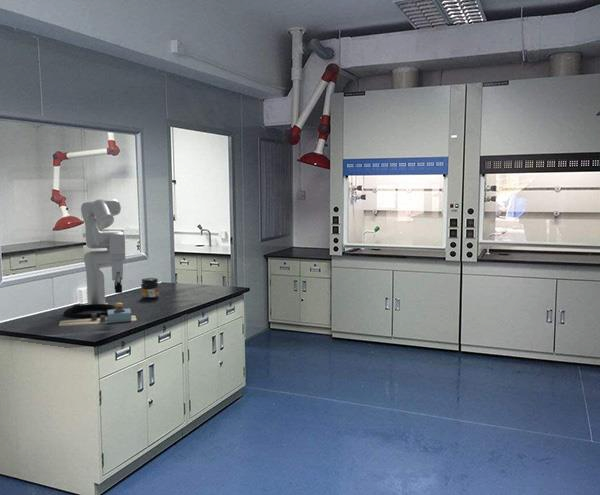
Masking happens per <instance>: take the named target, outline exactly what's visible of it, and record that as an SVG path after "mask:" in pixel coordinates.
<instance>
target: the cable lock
mask: <svg viewBox="0 0 600 495" xmlns="http://www.w3.org/2000/svg"><path fill="white" fill-rule="evenodd" d="M114 309H115V305H113V304H112V305H111V304H109V303H108V304H88V305H85V304H73V306H71V307H69V308H67V309H64V311H63V316H64V318H69V319H92V314H94V313H95V312H94V313H82V312H89V311H102V312H96V313H97V318H100V316H102V315H105V317H108V310H114ZM80 312H81V313H80Z"/></svg>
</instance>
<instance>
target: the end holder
mask: <svg viewBox="0 0 600 495" xmlns="http://www.w3.org/2000/svg"><path fill="white" fill-rule="evenodd" d="M131 316H132V310H131V308H123V312H119V313H116V311H115V309H114V310H108V316H107V317H108V322H112V323H121V321H125V322H133V321H132V320H131Z"/></svg>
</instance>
